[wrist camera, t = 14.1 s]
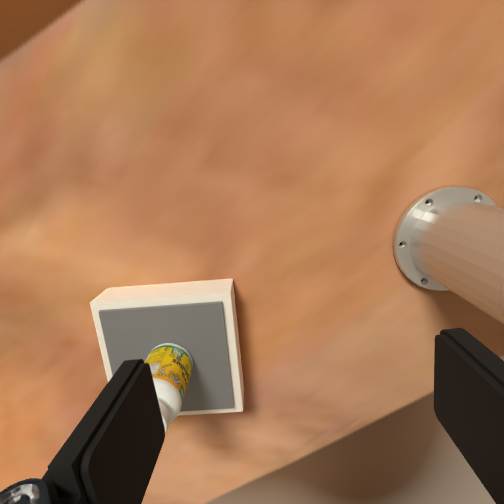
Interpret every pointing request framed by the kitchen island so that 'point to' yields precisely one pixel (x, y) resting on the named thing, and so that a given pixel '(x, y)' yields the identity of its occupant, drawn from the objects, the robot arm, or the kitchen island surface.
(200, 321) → the plate
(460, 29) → the kitchen island surface
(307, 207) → the kitchen island surface
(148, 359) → the supplement bottle
